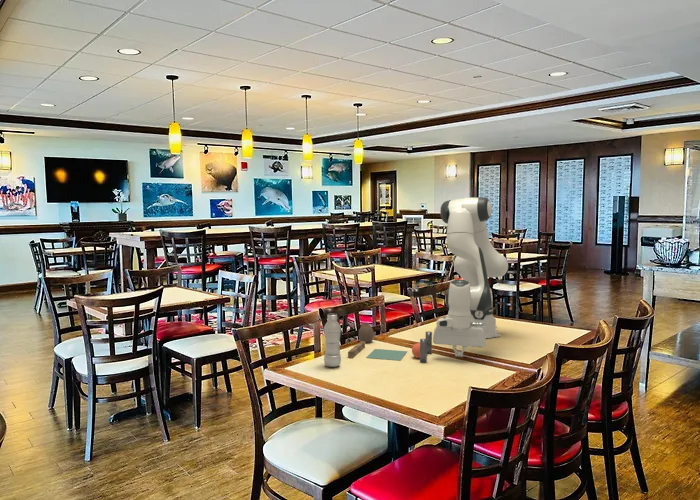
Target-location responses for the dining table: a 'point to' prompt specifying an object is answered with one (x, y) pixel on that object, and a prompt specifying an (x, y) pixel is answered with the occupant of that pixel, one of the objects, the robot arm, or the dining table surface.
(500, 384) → the dining table surface
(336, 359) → the plastic bottle
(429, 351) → the post
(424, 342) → the post
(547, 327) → the dining table surface
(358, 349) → the wall
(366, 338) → the vase
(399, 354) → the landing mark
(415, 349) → the ball
